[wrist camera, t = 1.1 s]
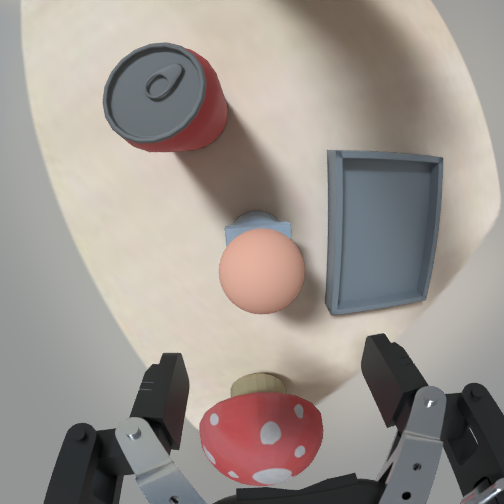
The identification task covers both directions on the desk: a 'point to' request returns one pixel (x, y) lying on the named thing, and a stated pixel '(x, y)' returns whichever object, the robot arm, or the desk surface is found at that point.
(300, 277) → the ball
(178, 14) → the desk surface
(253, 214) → the square to round adapter
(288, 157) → the desk surface
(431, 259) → the tray
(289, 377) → the desk surface
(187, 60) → the beer can
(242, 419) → the decorative mushroom
